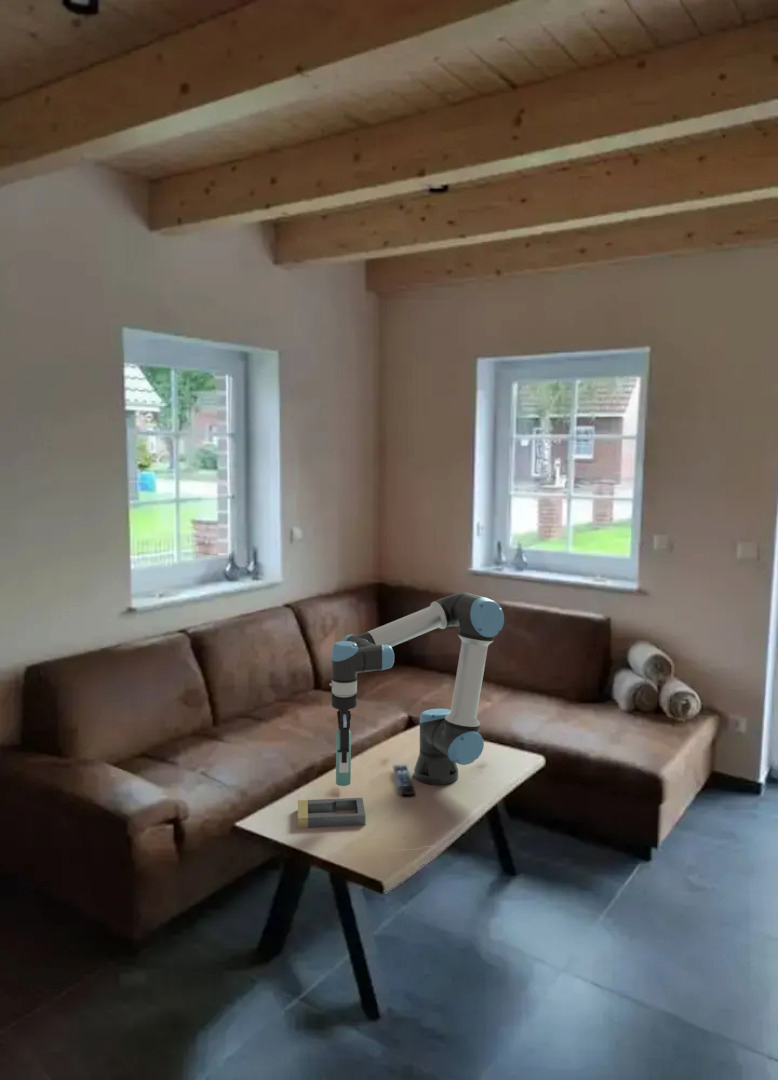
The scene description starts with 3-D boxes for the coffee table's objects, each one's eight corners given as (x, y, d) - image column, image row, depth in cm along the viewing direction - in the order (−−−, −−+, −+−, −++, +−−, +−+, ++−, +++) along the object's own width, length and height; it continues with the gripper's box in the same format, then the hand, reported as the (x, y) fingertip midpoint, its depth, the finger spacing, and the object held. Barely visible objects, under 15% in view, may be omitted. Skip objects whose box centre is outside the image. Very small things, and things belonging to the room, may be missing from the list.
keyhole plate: (362, 806, 246) (362, 797, 246) (365, 824, 234) (365, 815, 234) (298, 809, 244) (297, 800, 244) (297, 828, 232) (297, 818, 232)
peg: (350, 779, 240) (350, 729, 239) (350, 785, 236) (351, 734, 234) (335, 780, 240) (336, 729, 238) (336, 786, 236) (336, 734, 234)
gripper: (330, 685, 243) (330, 757, 246) (332, 703, 226) (332, 781, 229) (354, 684, 244) (354, 757, 247) (358, 702, 227) (357, 780, 229)
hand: (343, 768), depth 238 cm, fingers closed on peg, 4 cm apart
